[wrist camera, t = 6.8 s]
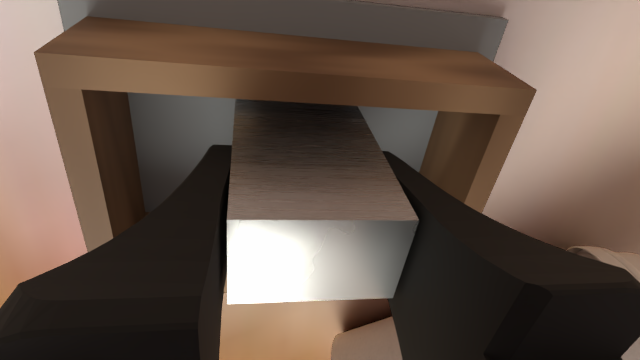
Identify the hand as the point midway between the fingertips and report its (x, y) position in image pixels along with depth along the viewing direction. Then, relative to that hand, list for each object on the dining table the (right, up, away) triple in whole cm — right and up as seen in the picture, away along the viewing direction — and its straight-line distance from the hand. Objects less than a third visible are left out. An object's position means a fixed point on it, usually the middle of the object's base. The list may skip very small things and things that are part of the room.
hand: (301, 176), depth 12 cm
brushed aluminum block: (-1, +1, +3) cm, 3 cm away
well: (-1, +1, +3) cm, 4 cm away
